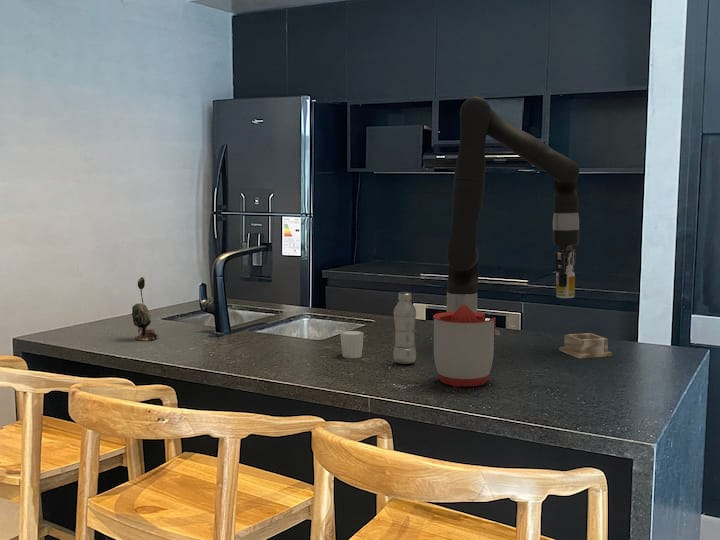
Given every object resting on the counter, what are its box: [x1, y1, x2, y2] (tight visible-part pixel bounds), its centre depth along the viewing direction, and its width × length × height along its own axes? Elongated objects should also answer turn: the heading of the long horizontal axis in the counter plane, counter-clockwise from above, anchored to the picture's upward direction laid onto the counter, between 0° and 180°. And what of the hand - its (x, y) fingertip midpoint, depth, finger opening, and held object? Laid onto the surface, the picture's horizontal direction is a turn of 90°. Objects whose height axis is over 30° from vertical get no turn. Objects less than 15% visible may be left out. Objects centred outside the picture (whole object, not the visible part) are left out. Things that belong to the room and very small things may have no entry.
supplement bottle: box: [555, 264, 576, 299], centre depth 226 cm, size 5×5×10 cm
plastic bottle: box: [392, 291, 417, 365], centre depth 213 cm, size 6×7×20 cm
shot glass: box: [339, 330, 364, 359], centre depth 223 cm, size 7×7×7 cm
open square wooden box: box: [558, 332, 613, 359], centre depth 227 cm, size 11×11×5 cm
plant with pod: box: [131, 276, 159, 342], centre depth 248 cm, size 8×11×20 cm
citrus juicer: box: [432, 304, 501, 388], centre depth 193 cm, size 16×17×20 cm
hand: (565, 285), depth 227 cm, fingers closed on supplement bottle, 5 cm apart
